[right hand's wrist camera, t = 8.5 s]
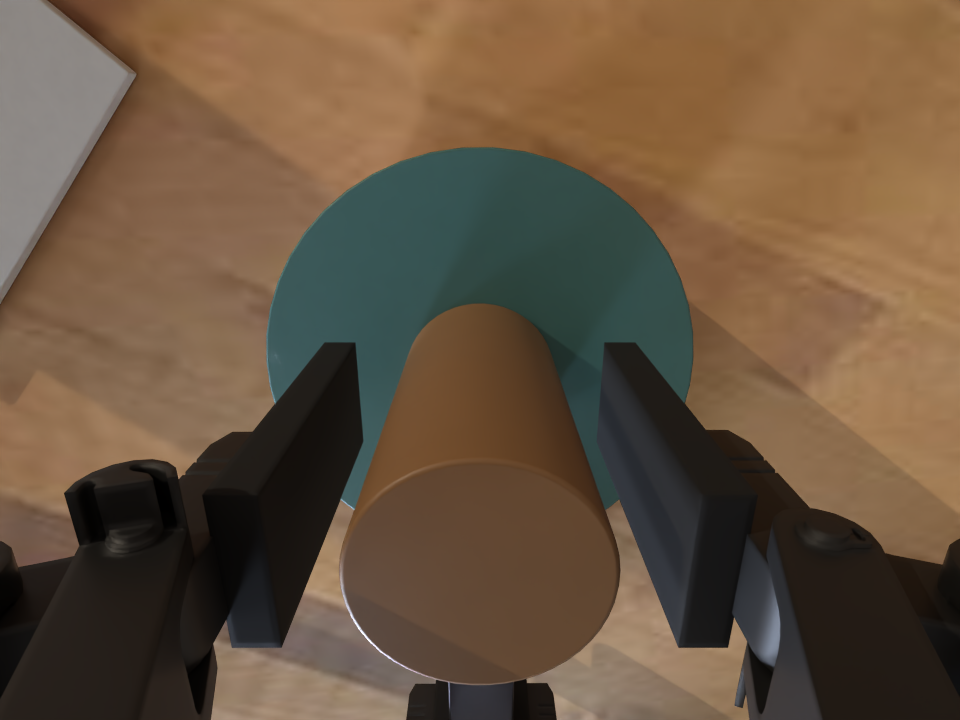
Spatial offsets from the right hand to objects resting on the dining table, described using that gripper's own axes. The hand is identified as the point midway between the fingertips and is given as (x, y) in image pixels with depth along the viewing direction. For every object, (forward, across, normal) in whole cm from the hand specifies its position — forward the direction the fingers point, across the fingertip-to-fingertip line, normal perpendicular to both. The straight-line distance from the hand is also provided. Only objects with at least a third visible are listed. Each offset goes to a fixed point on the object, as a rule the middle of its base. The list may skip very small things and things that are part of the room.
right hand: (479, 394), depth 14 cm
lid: (+2, 0, 0) cm, 2 cm away
